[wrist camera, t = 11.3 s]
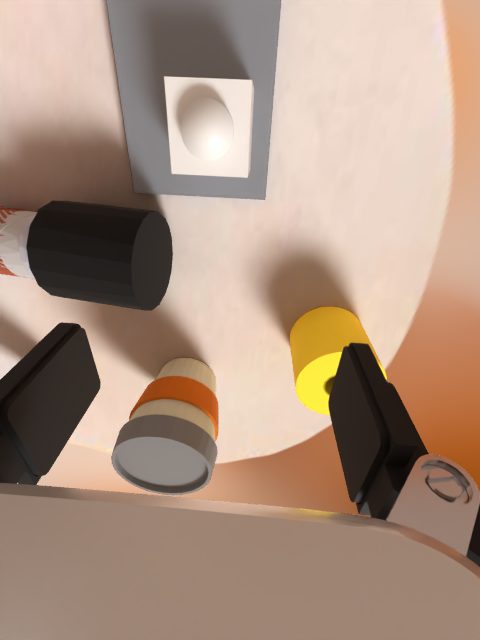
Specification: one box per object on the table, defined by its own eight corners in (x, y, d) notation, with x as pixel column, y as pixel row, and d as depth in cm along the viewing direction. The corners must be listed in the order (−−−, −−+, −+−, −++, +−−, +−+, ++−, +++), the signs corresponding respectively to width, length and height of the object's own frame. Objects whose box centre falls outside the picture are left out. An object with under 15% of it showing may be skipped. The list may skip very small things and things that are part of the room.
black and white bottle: (-73, 193, 39) (-193, 159, 29) (176, 224, 36) (137, 197, 26) (-76, 271, 40) (-192, 263, 30) (167, 308, 37) (125, 314, 27)
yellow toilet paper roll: (313, 295, 39) (326, 338, 31) (378, 323, 40) (406, 371, 32) (277, 349, 44) (280, 399, 36) (336, 372, 45) (351, 424, 37)
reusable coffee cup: (231, 404, 51) (221, 496, 38) (160, 406, 52) (127, 495, 39) (221, 346, 44) (204, 434, 31) (139, 349, 45) (92, 435, 33)
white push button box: (182, 85, 27) (160, 74, 21) (254, 88, 26) (251, 78, 21) (186, 166, 30) (168, 175, 24) (250, 169, 30) (247, 179, 24)
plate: (98, -101, 22) (90, -112, 21) (288, -97, 22) (289, -108, 21) (138, 190, 33) (134, 192, 32) (265, 197, 32) (265, 199, 31)
